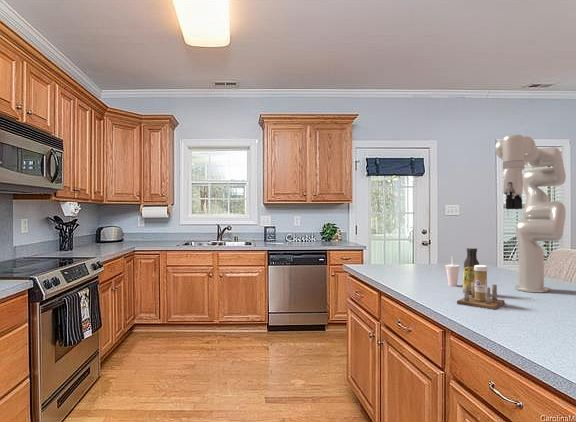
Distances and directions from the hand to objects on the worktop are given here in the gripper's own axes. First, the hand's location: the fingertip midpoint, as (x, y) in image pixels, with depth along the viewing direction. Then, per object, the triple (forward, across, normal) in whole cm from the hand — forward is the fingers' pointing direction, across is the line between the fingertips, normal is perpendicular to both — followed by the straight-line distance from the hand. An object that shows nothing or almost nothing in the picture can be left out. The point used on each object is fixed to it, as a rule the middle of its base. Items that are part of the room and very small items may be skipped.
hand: (514, 209), depth 153 cm
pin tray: (+36, +16, -8) cm, 40 cm away
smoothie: (+36, -13, -30) cm, 49 cm away
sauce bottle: (+36, 0, -17) cm, 40 cm away
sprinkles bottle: (+35, +16, -8) cm, 39 cm away
